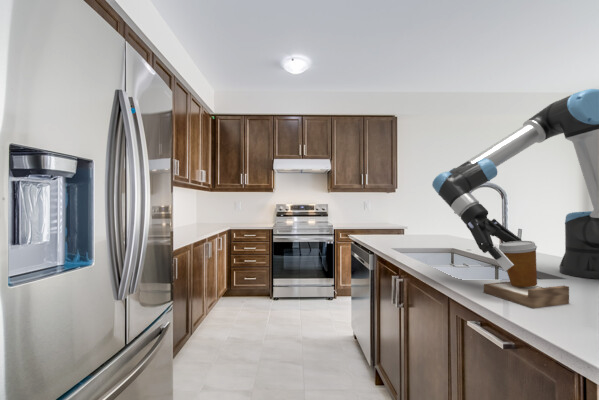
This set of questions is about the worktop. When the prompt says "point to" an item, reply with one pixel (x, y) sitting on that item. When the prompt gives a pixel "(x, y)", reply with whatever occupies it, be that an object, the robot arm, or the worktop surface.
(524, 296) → the dock board
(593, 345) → the worktop surface
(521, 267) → the disposable coffee cup
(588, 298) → the worktop surface
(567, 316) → the worktop surface
